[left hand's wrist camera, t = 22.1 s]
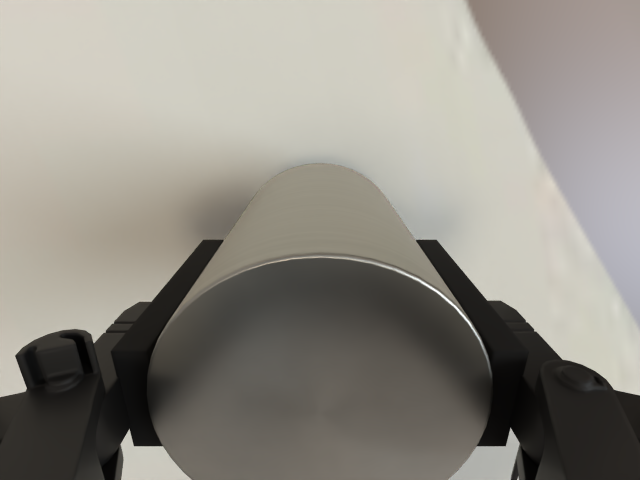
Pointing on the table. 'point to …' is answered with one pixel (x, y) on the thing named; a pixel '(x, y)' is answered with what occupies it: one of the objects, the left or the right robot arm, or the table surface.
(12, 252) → the table surface
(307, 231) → the can
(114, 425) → the left robot arm
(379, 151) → the table surface
